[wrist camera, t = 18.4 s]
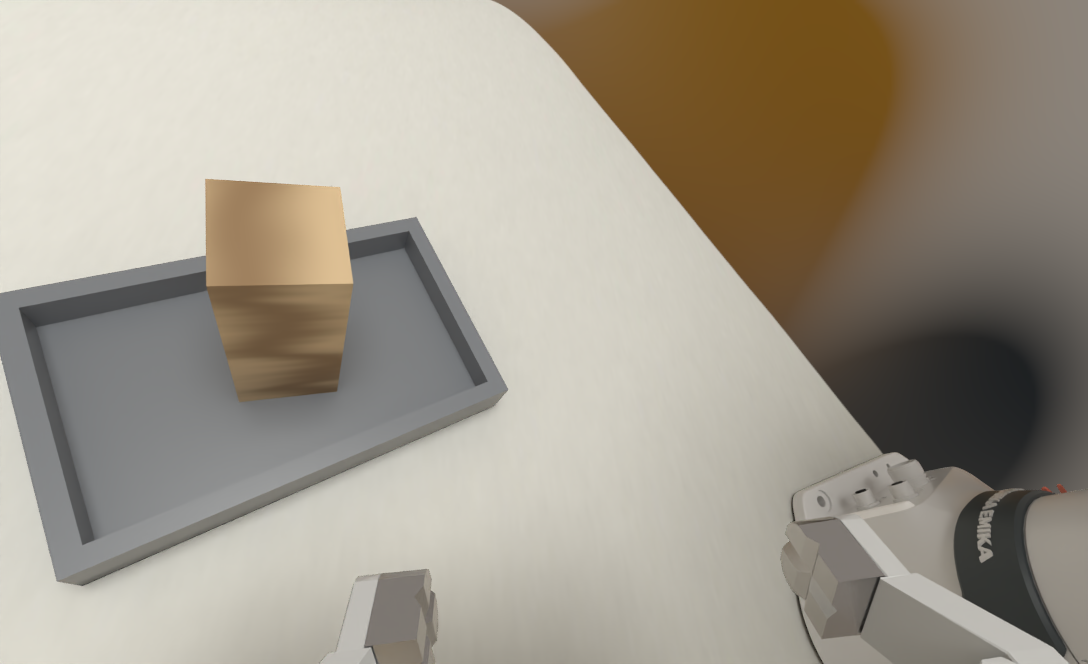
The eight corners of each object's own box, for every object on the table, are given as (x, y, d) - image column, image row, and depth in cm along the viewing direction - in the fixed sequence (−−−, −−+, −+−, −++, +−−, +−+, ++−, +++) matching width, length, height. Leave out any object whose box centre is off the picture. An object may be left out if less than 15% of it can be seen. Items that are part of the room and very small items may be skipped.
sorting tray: (409, 242, 38) (416, 217, 36) (494, 405, 35) (508, 389, 32) (14, 325, 27) (-15, 295, 24) (82, 585, 23) (56, 581, 21)
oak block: (328, 317, 32) (340, 187, 23) (337, 391, 30) (353, 283, 21) (236, 322, 30) (205, 178, 20) (239, 402, 28) (206, 286, 18)
